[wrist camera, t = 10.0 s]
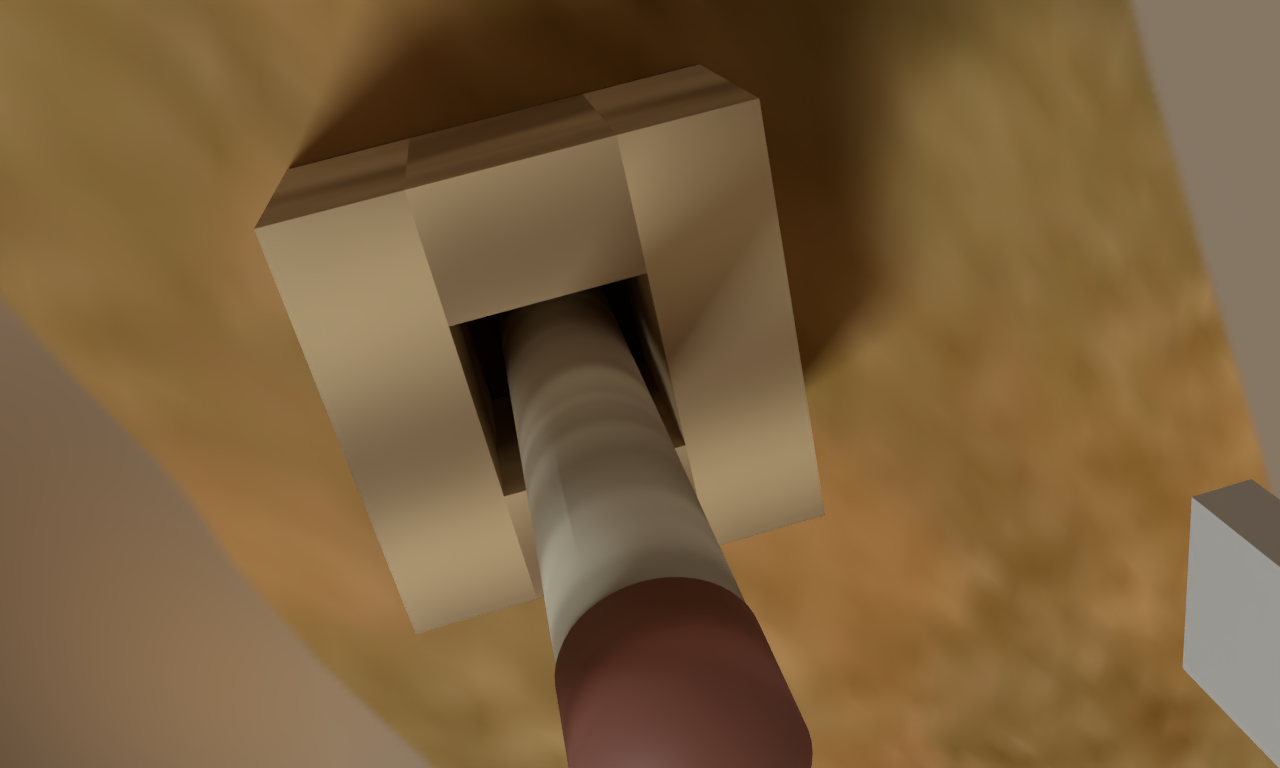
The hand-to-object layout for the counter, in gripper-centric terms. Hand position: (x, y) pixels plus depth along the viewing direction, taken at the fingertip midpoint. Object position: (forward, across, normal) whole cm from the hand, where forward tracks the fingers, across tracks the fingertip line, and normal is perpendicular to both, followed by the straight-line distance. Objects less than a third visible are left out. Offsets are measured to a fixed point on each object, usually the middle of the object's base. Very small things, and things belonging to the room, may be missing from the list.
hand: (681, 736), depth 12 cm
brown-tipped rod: (+16, 0, -1) cm, 16 cm away
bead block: (+16, 0, -1) cm, 16 cm away
